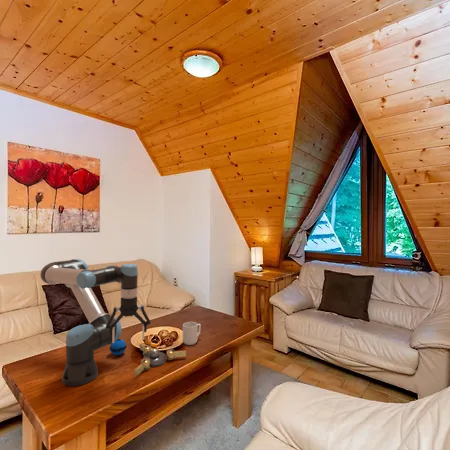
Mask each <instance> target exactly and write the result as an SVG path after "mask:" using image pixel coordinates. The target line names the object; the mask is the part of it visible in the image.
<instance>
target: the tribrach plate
mask: <svg viewBox="0 0 450 450" xmlns="http://www.w3.org/2000/svg"><path fill="white" fill-rule="evenodd" d="M145 358H148V359H150V368H157V367H160V366H163V365H164V364H165V363H166V360H167V354H166V353H164V352H163V351H162V352H161V351H160V349H157V348H151V351H150V353H148V354H146V355H145V356H144V355H143V358H142V359H145Z"/></svg>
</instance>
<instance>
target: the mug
mask: <svg viewBox="0 0 450 450" xmlns="http://www.w3.org/2000/svg"><path fill="white" fill-rule="evenodd" d="M201 326H202V325H201V323H197V322H196V321H186V322H184V323H183V324H182V342H183V341H184V342H183V343H184V345H187V346H192V345H196V343H197V342H198V337H199V335H200V334H201V330H202V329H201Z"/></svg>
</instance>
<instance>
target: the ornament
mask: <svg viewBox="0 0 450 450" xmlns="http://www.w3.org/2000/svg"><path fill="white" fill-rule="evenodd" d="M109 345H110V346H109V351H110V353H111V354H112V355H114V356H120V355H122V354H124V352H125V351H126V349H127V343H126V341H125V340H124V339H122V338H119V339H118V340H117V341H115V342H114V343H112V344H109Z"/></svg>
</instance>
